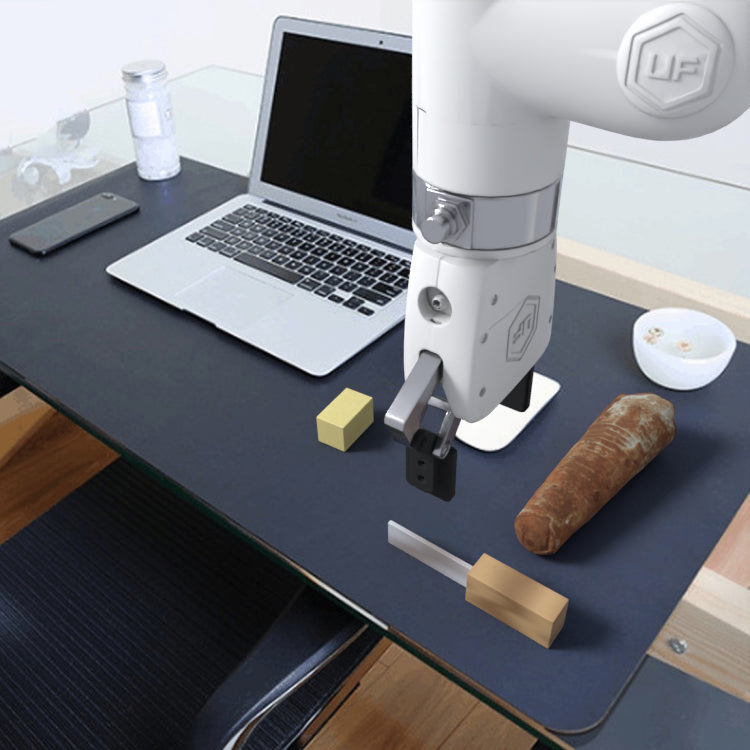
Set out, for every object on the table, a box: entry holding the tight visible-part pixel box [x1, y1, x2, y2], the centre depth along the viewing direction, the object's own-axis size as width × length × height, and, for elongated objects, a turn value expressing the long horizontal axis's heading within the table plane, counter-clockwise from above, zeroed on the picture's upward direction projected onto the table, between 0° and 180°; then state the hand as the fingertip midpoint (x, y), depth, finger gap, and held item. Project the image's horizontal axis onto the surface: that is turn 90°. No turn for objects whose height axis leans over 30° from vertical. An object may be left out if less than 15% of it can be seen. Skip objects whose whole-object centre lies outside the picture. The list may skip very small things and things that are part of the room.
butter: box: [315, 387, 374, 453], centre depth 74 cm, size 5×3×3 cm, turn 148°
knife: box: [387, 519, 570, 650], centre depth 60 cm, size 15×2×3 cm, turn 52°
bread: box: [513, 391, 677, 556], centre depth 67 cm, size 6×19×6 cm, turn 135°
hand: (470, 444), depth 51 cm, fingers open, 9 cm apart
